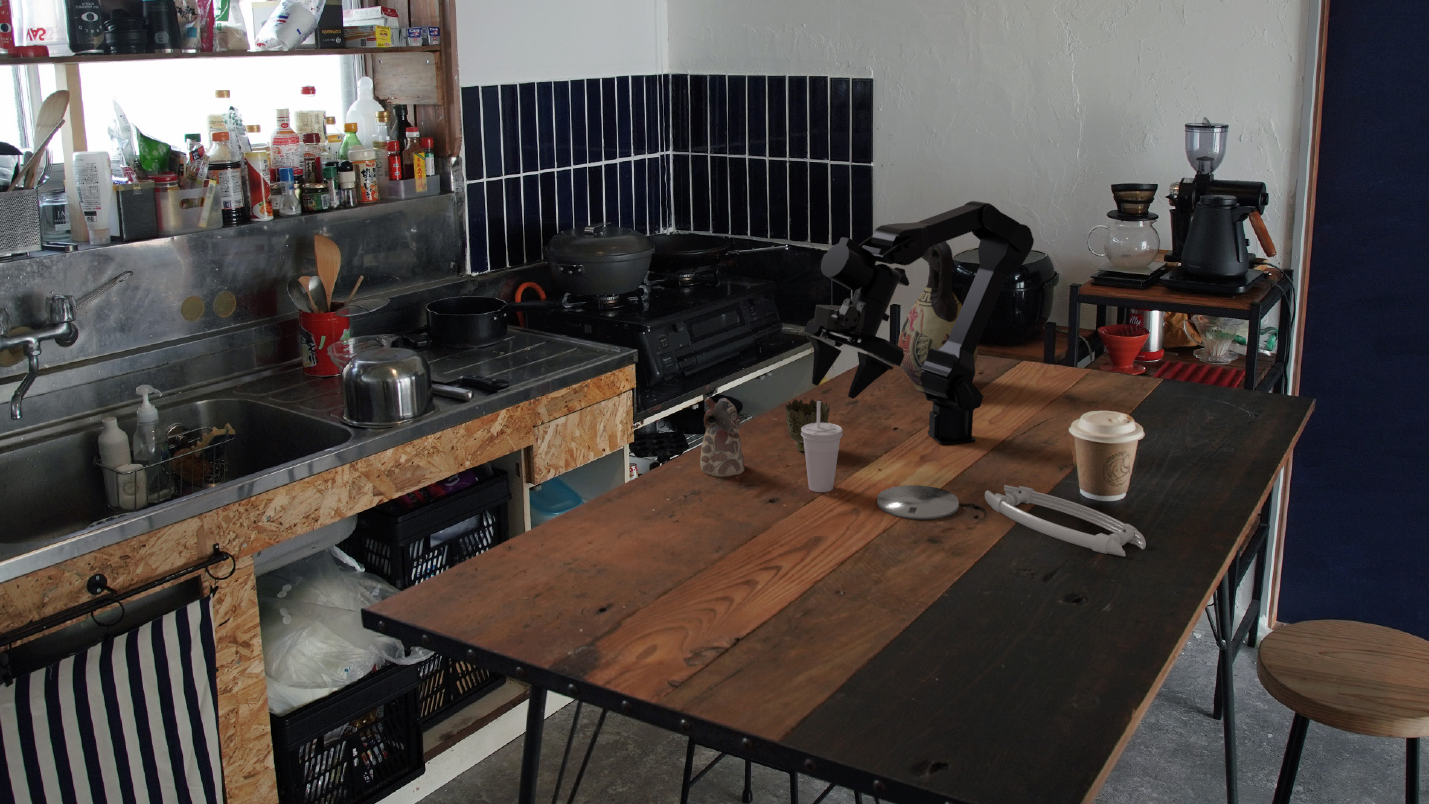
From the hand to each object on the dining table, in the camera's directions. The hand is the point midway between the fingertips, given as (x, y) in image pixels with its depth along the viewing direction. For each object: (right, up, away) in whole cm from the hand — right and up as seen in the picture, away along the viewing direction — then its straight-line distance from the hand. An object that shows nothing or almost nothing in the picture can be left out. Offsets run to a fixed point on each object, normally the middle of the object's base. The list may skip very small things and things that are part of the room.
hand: (832, 391), depth 197 cm
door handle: (+31, -20, -20) cm, 42 cm away
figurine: (-18, -13, +4) cm, 22 cm away
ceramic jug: (+25, +1, +46) cm, 53 cm away
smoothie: (-2, -15, -5) cm, 16 cm away
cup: (-3, -10, +12) cm, 16 cm away
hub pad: (+12, -17, -12) cm, 24 cm away
